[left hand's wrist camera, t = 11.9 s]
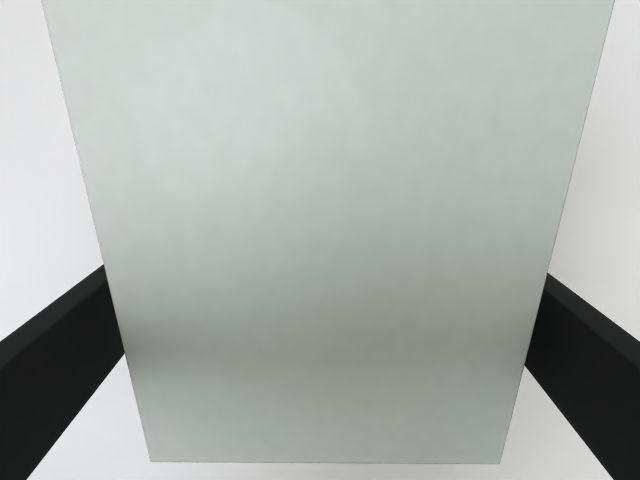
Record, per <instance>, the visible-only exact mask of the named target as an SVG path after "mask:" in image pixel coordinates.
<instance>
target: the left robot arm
mask: <svg viewBox="0 0 640 480" xmlns="http://www.w3.org/2000/svg"><path fill="white" fill-rule="evenodd" d="M124 354H125V351H124V347H123V343H122V338H121V334H120V330H119V326H118V322H117V317H116V313H115V309H114V305H113V300H112V296H111V292H110V288H109V284H108V279H107V275H106V271H105V267H104V264H103V265H102V266H101V267H99V268H98V269H97V270H95V271H94V272H93V273H91V274H90V275H89V276H87V277H86V278H85V279H83V280H82V281H81V282H79V283H78V284H77V285H75V286H74V287H73V288H71V289H70V290H69V291H67V292H66V293H65V294H63V295H62V296H61V297H59V298H58V299H57V300H55V301H54V302H53V303H51V304H50V305H49V306H47V307H46V308H45V309H43V310H42V311H41V312H39V313H38V314H37V315H35V316H34V317H33V318H31V319H30V320H29V321H27V322H26V323H25V324H23V325H22V326H21V327H19V328H18V329H17V330H15V331H14V332H13V333H11V334H10V335H9V336H7V337H6V338H5V339H3V340H2V341H1V342H0V480H27V478H28V477H29V476H30V474H31V473H32V472H33V471H34V469H35V468H36V467H37V465H38V464H39V463H40V462H41V460H42V459H43V458H44V456H45V455H46V454H47V453H48V451H49V450H50V449H51V447H52V446H53V445H54V444H55V442H56V441H57V440H58V438H59V437H60V436H61V435H62V433H63V432H64V431H65V429H66V428H67V427H68V426H69V424H70V423H71V422H72V420H73V419H74V418H75V417H76V415H77V414H78V413H79V411H80V410H81V409H82V408H83V406H84V405H85V404H86V402H87V401H88V400H89V399H90V397H91V396H92V395H93V393H94V392H95V391H96V390H97V388H98V387H99V386H100V384H101V383H102V382H103V381H104V379H105V378H106V377H107V375H108V374H109V373H110V372H111V370H112V369H113V368H114V366H115V365H116V364H117V363H118V361H119V360H120V359H121V357H122V356H123V355H124ZM524 365H525V366H526V368H527V369H528V370H529V372H530V373H531V374H532V375H533V377H534V378H535V379H536V381H537V382H538V383H539V384H540V386H541V387H542V388H543V390H544V391H545V392H546V393H547V395H548V396H549V397H550V399H551V400H552V401H553V402H554V404H555V405H556V406H557V408H558V409H559V410H560V411H561V413H562V414H563V415H564V417H565V418H566V419H567V420H568V422H569V423H570V424H571V426H572V427H573V428H574V429H575V431H576V432H577V433H578V435H579V436H580V437H581V438H582V440H583V441H584V442H585V444H586V445H587V446H588V447H589V449H590V450H591V451H592V453H593V454H594V455H595V456H596V458H597V459H598V460H599V462H600V463H601V464H602V465H603V467H604V468H605V469H606V471H607V472H608V473H609V474H610V476H611V477H612V478H613V480H640V342H639V341H638V340H637V339H635V338H634V337H633V336H631V335H630V334H629V333H627V332H626V331H625V330H623V329H622V328H621V327H619V326H618V325H617V324H615V323H614V322H613V321H611V320H610V319H609V318H607V317H606V316H605V315H603V314H602V313H601V312H599V311H598V310H597V309H595V308H594V307H593V306H591V305H590V304H589V303H587V302H586V301H585V300H583V299H582V298H581V297H579V296H578V295H577V294H575V293H574V292H573V291H571V290H570V289H569V288H567V287H566V286H565V285H563V284H562V283H561V282H559V281H558V280H557V279H555V278H554V277H553V276H551V275H550V274H549V273H547V276H546V280H545V284H544V288H543V292H542V296H541V300H540V304H539V308H538V312H537V316H536V320H535V324H534V328H533V332H532V336H531V340H530V344H529V348H528V352H527V356H526V360H525V364H524Z"/></svg>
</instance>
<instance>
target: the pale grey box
mask: <svg viewBox="0 0 640 480" xmlns="http://www.w3.org/2000/svg"><path fill="white" fill-rule="evenodd" d="M41 1H42V5H43V9H44V13H45V18H46V22H47V26H48V30H49V34H50V39H51V43H52V47H53V51H54V56H55V60H56V64H57V68H58V72H59V77H60V81H61V85H62V89H63V94H64V98H65V102H66V106H67V110H68V115H69V119H70V123H71V127H72V132H73V136H74V140H75V144H76V148H77V153H78V157H79V161H80V165H81V170H82V174H83V178H84V182H85V186H86V191H87V195H88V199H89V203H90V208H91V212H92V216H93V220H94V224H95V229H96V233H97V237H98V241H99V246H100V250H101V254H102V258H103V262H104V267H105V271H106V275H107V279H108V284H109V288H110V292H111V296H112V300H113V305H114V309H115V313H116V317H117V322H118V326H119V330H120V334H121V338H122V343H123V347H124V351H125V355H126V360H127V364H128V368H129V372H130V376H131V381H132V385H133V389H134V393H135V397H136V402H137V406H138V410H139V414H140V419H141V423H142V427H143V431H144V435H145V440H146V444H147V448H148V452H149V457H150V461H151V462H239V463H402V464H500V461H501V457H502V453H503V449H504V445H505V441H506V437H507V433H508V429H509V425H510V421H511V417H512V412H513V408H514V404H515V400H516V396H517V392H518V388H519V384H520V380H521V376H522V372H523V368H524V364H525V360H526V356H527V352H528V348H529V344H530V340H531V336H532V332H533V328H534V324H535V320H536V316H537V312H538V308H539V304H540V300H541V296H542V292H543V288H544V284H545V280H546V276H547V272H548V267H549V263H550V259H551V255H552V251H553V247H554V243H555V239H556V235H557V231H558V227H559V223H560V219H561V215H562V211H563V207H564V203H565V199H566V195H567V191H568V187H569V183H570V179H571V175H572V171H573V167H574V163H575V159H576V155H577V151H578V147H579V143H580V139H581V135H582V131H583V127H584V122H585V118H586V114H587V110H588V106H589V102H590V98H591V94H592V90H593V86H594V82H595V78H596V74H597V70H598V66H599V62H600V58H601V54H602V50H603V46H604V42H605V38H606V34H607V30H608V26H609V22H610V18H611V14H612V10H613V6H614V2H615V0H41Z"/></svg>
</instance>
